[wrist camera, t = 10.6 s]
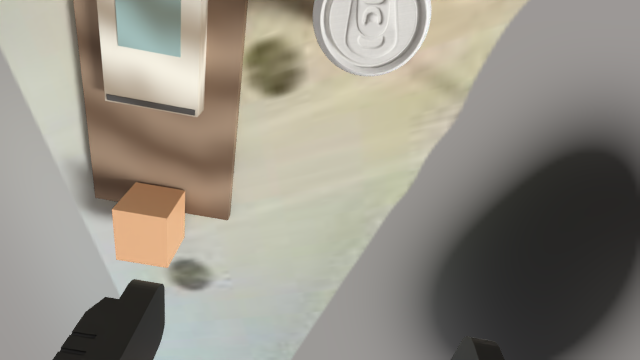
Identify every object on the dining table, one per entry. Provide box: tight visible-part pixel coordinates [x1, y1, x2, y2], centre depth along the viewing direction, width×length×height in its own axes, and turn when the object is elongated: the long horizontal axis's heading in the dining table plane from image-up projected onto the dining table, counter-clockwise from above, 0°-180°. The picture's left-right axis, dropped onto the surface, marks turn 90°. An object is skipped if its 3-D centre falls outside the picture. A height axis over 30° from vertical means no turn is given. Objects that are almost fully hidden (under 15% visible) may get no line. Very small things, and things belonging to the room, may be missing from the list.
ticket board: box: [73, 0, 248, 220], centre depth 35 cm, size 30×14×3 cm, turn 170°
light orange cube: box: [112, 182, 185, 268], centre depth 41 cm, size 6×5×5 cm
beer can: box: [313, 0, 431, 76], centre depth 27 cm, size 6×6×15 cm
